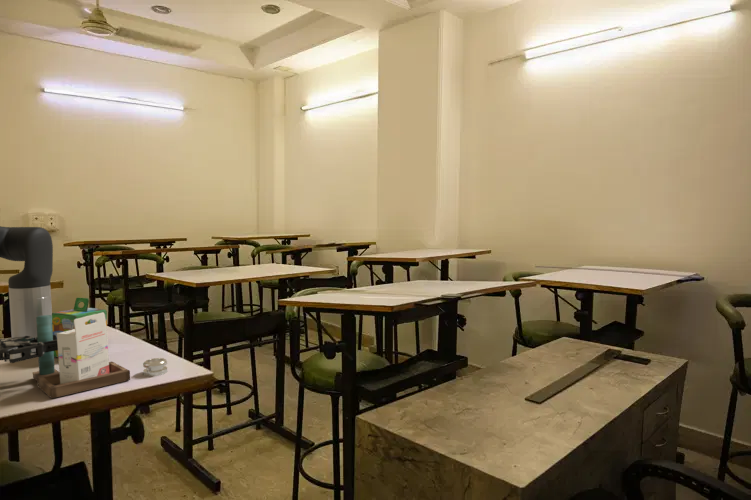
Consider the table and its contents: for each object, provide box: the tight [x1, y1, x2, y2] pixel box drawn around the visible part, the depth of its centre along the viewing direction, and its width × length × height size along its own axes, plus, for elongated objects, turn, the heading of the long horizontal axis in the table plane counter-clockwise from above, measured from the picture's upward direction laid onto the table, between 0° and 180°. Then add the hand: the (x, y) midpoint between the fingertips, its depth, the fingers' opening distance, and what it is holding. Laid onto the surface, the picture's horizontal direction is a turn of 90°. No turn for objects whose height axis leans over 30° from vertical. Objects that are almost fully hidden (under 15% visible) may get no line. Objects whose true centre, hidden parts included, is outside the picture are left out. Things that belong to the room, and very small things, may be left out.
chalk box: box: [52, 297, 108, 358], centre depth 126 cm, size 9×9×15 cm
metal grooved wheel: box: [142, 357, 168, 377], centre depth 111 cm, size 5×3×5 cm
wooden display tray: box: [32, 315, 131, 399], centre depth 106 cm, size 18×15×14 cm
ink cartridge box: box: [57, 312, 110, 384], centre depth 104 cm, size 9×5×15 cm, turn 167°
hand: (59, 341), depth 108 cm, fingers open, 5 cm apart
